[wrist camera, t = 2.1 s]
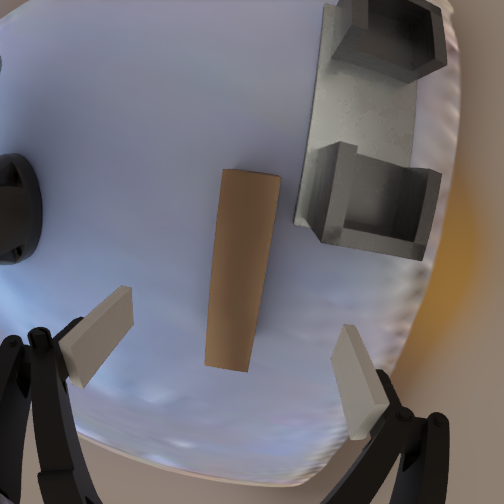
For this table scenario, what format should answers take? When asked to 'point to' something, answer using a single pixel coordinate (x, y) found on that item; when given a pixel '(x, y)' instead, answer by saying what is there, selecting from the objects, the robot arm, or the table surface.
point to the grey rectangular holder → (371, 128)
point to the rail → (239, 265)
